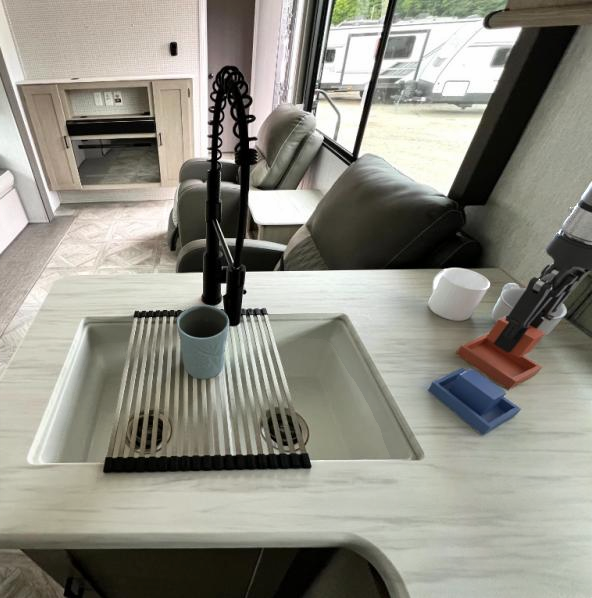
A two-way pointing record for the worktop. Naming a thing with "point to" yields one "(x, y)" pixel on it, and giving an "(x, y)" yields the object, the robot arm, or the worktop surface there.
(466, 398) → the blue rectangular block
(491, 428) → the tray blue
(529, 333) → the rust bar
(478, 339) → the tray rust
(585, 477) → the worktop surface
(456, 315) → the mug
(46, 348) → the worktop surface
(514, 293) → the teacup
